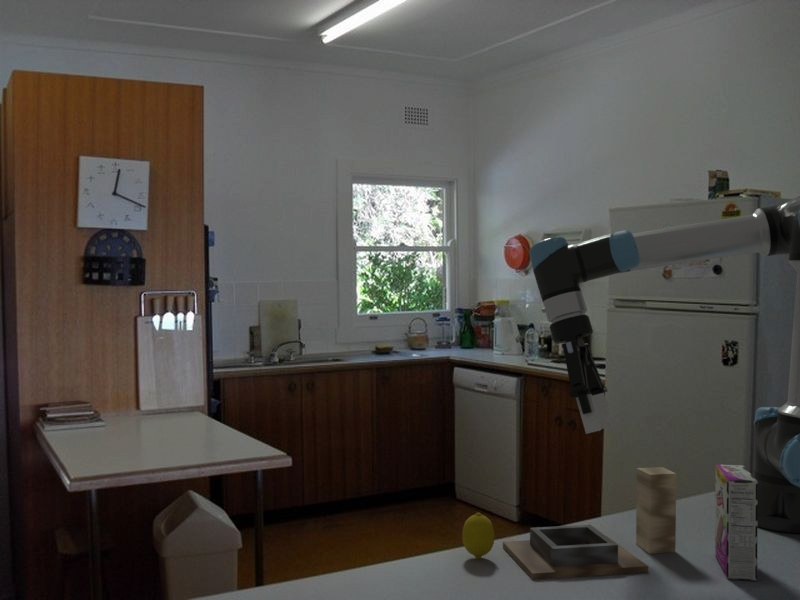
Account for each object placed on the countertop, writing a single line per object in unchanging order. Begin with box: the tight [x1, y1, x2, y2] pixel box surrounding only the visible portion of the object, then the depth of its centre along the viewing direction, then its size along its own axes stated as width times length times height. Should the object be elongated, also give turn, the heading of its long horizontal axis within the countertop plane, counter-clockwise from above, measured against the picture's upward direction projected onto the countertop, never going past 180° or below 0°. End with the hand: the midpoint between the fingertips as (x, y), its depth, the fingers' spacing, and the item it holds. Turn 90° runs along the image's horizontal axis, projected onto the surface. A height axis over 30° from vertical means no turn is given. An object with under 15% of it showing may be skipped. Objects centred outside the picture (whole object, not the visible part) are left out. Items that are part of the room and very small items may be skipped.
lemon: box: [461, 512, 495, 560], centre depth 141 cm, size 6×6×8 cm
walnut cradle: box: [502, 524, 649, 581], centre depth 141 cm, size 20×16×4 cm
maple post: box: [635, 466, 677, 555], centre depth 146 cm, size 5×5×14 cm
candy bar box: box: [714, 463, 759, 582], centre depth 136 cm, size 11×5×16 cm, turn 168°
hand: (600, 430), depth 149 cm, fingers open, 13 cm apart
